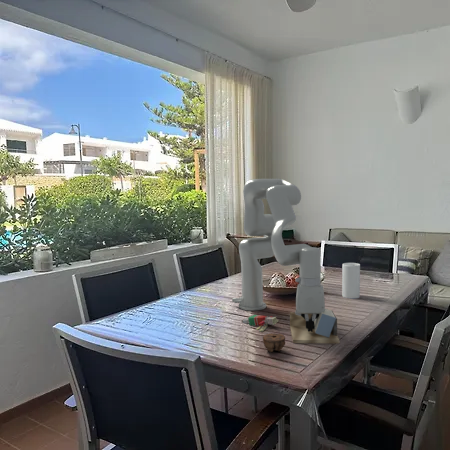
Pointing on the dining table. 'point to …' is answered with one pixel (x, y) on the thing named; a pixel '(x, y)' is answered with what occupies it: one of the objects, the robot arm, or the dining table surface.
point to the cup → (351, 280)
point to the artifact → (274, 341)
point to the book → (324, 323)
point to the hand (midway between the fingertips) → (310, 330)
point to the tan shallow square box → (304, 336)
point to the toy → (260, 321)
